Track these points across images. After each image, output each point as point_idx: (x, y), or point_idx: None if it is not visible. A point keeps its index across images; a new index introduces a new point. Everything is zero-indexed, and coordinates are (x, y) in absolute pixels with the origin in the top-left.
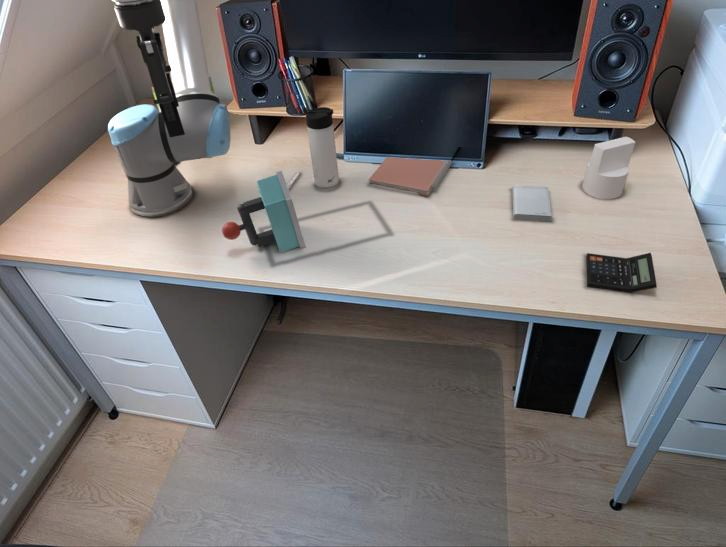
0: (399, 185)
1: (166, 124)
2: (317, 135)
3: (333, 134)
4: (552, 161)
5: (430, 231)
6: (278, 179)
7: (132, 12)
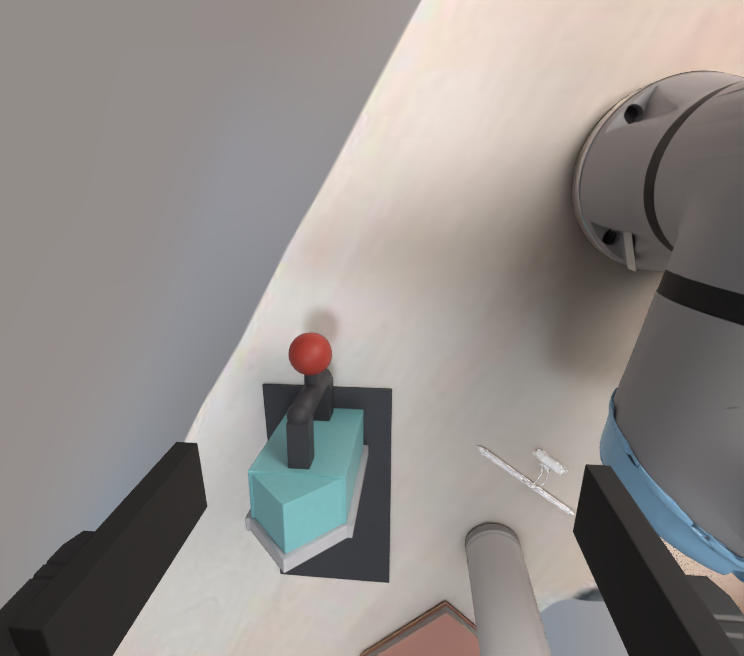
0: (397, 642)
1: (130, 496)
2: None
3: None
4: None
5: (266, 616)
6: (278, 546)
7: None
